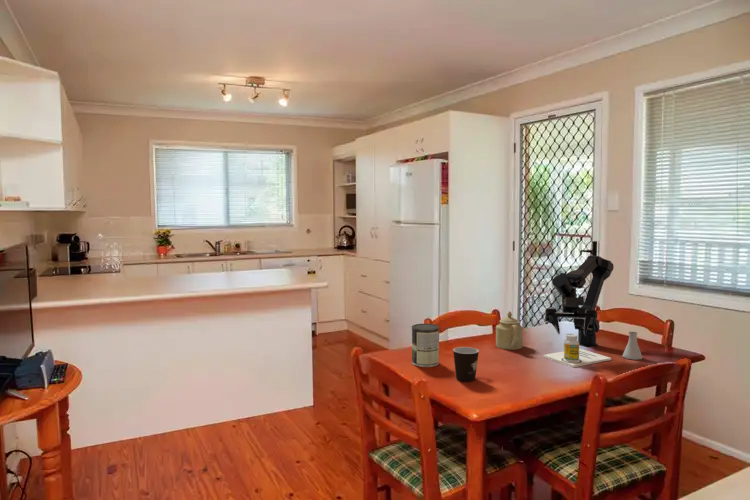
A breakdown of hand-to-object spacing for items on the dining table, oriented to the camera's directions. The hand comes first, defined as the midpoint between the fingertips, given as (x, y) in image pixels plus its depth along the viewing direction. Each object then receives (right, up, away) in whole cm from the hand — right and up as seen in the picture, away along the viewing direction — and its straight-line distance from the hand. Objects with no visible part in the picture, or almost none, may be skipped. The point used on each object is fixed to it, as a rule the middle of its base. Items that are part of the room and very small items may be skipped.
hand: (571, 334), depth 198 cm
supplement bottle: (-1, -10, -1) cm, 10 cm away
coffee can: (-56, -11, -1) cm, 57 cm away
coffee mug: (-42, -12, -19) cm, 48 cm away
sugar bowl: (-17, -9, +20) cm, 28 cm away
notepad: (+3, -10, +4) cm, 11 cm away
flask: (+25, -10, +5) cm, 28 cm away
